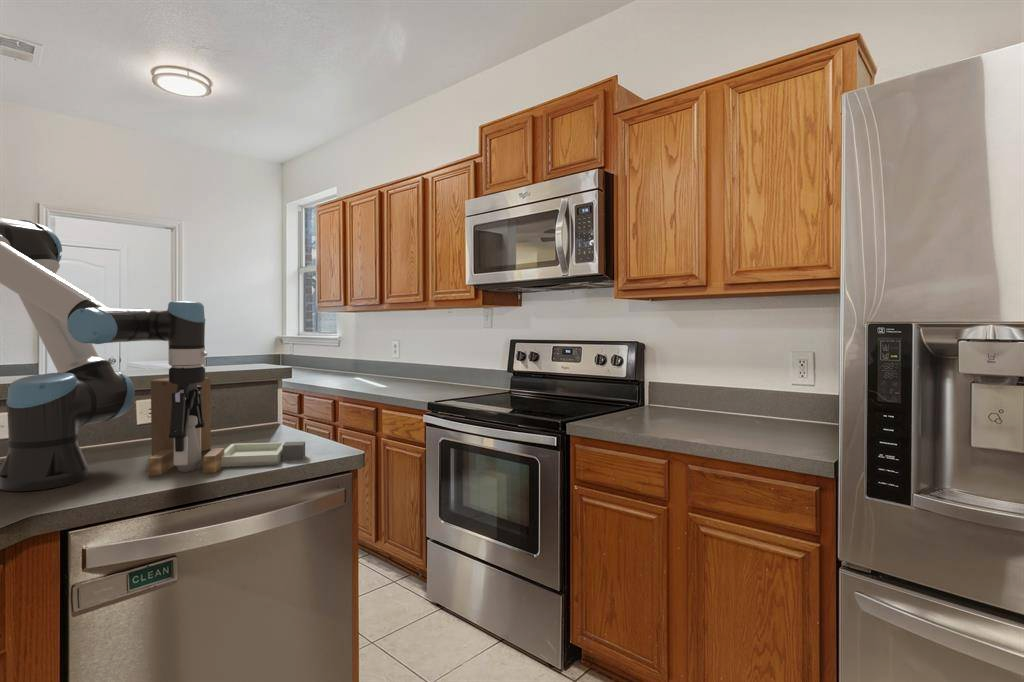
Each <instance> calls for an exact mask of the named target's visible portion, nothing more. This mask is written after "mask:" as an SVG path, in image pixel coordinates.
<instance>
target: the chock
mask: <svg viewBox="0 0 1024 682" xmlns="http://www.w3.org/2000/svg"><path fill="white" fill-rule="evenodd" d="M284 442H285V441H284ZM305 457H306V441H286V442H285V443H284V444H283V458H282V461H283V460H284V461H303V460H304V459H305Z"/></svg>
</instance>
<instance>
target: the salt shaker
mask: <svg viewBox="0 0 1024 682" xmlns="http://www.w3.org/2000/svg"><path fill="white" fill-rule="evenodd" d="M197 424H198V419H197V417H196V416H193V415H189V418H188V425H187V432H186V436H188V464H187V465H175V466H176V468H177V470H178V472H182V473H183V472H184V473H185V472H186V473H187V472H194V471H197V469H198V468H199V466H200V464H201V462H202V459H203V457H202V452H200V447H199V442H198V438H197V433H196V429H195V425H197Z"/></svg>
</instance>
